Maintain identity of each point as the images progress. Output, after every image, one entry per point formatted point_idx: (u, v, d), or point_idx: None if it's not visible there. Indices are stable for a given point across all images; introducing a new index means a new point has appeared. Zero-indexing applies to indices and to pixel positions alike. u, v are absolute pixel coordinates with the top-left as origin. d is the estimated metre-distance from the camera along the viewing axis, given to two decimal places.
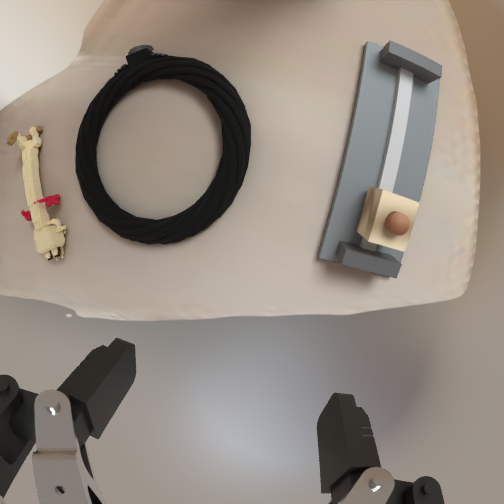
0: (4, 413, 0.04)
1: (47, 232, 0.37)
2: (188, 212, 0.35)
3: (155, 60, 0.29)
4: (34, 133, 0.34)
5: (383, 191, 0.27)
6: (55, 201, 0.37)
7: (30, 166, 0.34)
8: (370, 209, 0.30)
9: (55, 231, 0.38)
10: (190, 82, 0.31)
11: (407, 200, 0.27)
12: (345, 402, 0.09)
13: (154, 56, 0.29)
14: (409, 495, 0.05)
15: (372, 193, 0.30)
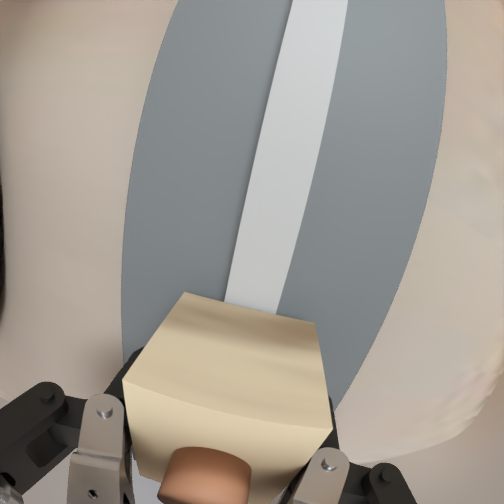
0: (44, 422, 0.05)
1: None
2: None
3: None
4: None
5: (127, 386, 0.05)
6: None
7: None
8: None
9: None
10: None
11: (259, 426, 0.05)
12: None
13: None
14: (367, 485, 0.05)
15: None
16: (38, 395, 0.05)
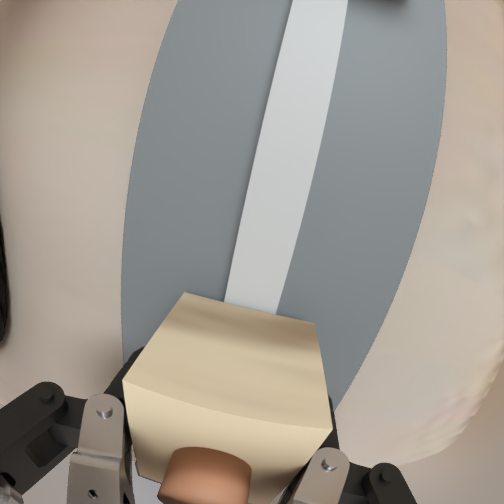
0: (43, 421, 0.05)
1: None
2: None
3: None
4: None
5: (127, 386, 0.05)
6: None
7: None
8: None
9: None
10: None
11: (259, 426, 0.05)
12: None
13: None
14: (367, 485, 0.05)
15: None
16: (38, 395, 0.05)
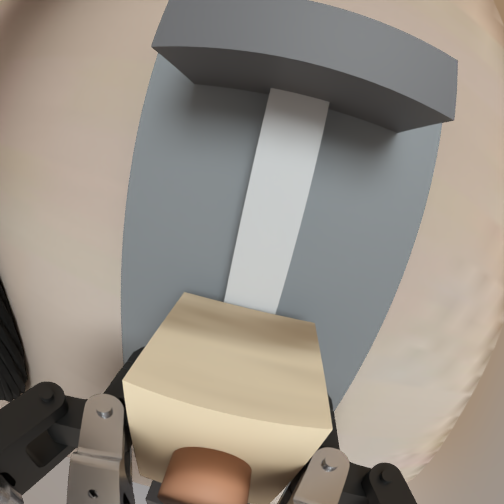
0: (43, 421, 0.05)
1: None
2: None
3: None
4: None
5: (127, 387, 0.05)
6: None
7: None
8: None
9: None
10: None
11: (259, 426, 0.05)
12: None
13: None
14: (367, 485, 0.05)
15: None
16: (38, 395, 0.05)
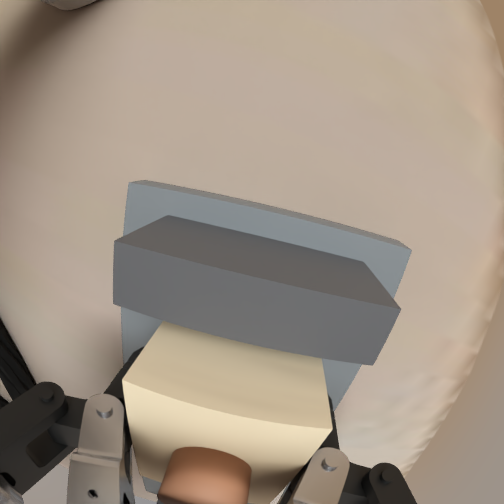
0: (44, 421, 0.05)
1: None
2: None
3: None
4: None
5: (127, 386, 0.05)
6: None
7: None
8: None
9: None
10: None
11: (259, 426, 0.05)
12: None
13: None
14: (367, 485, 0.05)
15: None
16: (38, 395, 0.05)
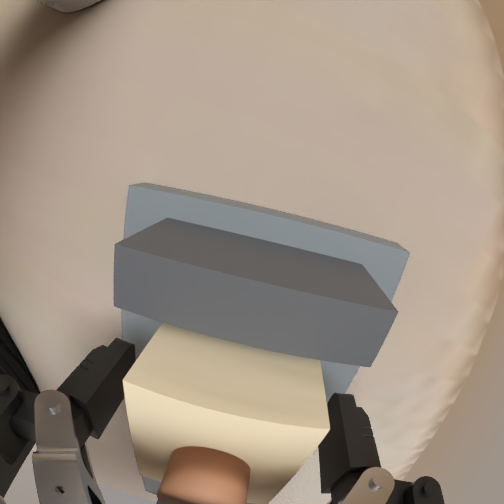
0: (4, 413, 0.04)
1: None
2: None
3: None
4: None
5: (127, 386, 0.06)
6: None
7: None
8: None
9: None
10: None
11: (258, 426, 0.05)
12: (345, 402, 0.09)
13: None
14: (409, 495, 0.05)
15: None
16: None
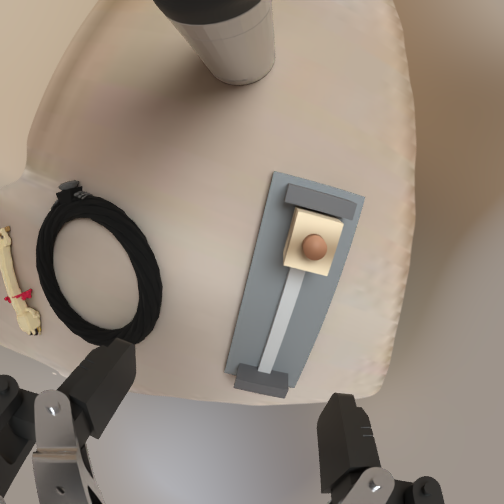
0: (4, 413, 0.04)
1: (25, 319, 0.43)
2: (122, 333, 0.41)
3: (77, 204, 0.35)
4: (4, 234, 0.40)
5: (299, 213, 0.28)
6: (28, 296, 0.43)
7: (5, 265, 0.40)
8: (291, 230, 0.31)
9: (31, 317, 0.44)
10: None
11: (328, 221, 0.28)
12: (345, 402, 0.09)
13: (77, 197, 0.35)
14: (409, 495, 0.05)
15: (294, 213, 0.31)
16: None
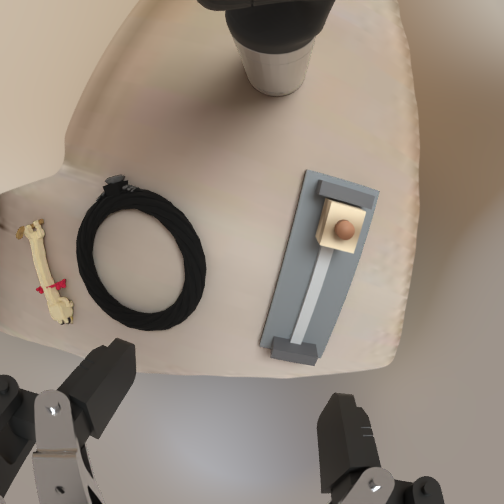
0: (4, 413, 0.04)
1: (59, 308, 0.49)
2: (165, 315, 0.48)
3: (127, 196, 0.42)
4: (37, 226, 0.47)
5: (332, 203, 0.35)
6: (63, 286, 0.50)
7: (39, 256, 0.47)
8: (324, 217, 0.38)
9: (65, 306, 0.51)
10: None
11: (354, 210, 0.35)
12: (345, 402, 0.09)
13: (125, 190, 0.42)
14: (409, 495, 0.05)
15: (326, 204, 0.38)
16: None
